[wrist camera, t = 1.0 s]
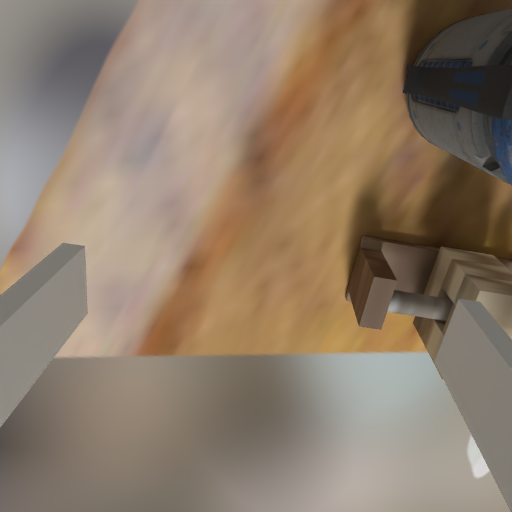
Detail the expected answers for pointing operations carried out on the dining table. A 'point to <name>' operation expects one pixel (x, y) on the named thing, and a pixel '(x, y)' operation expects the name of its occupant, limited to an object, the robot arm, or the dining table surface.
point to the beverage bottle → (467, 92)
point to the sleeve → (466, 291)
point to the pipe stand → (395, 282)
